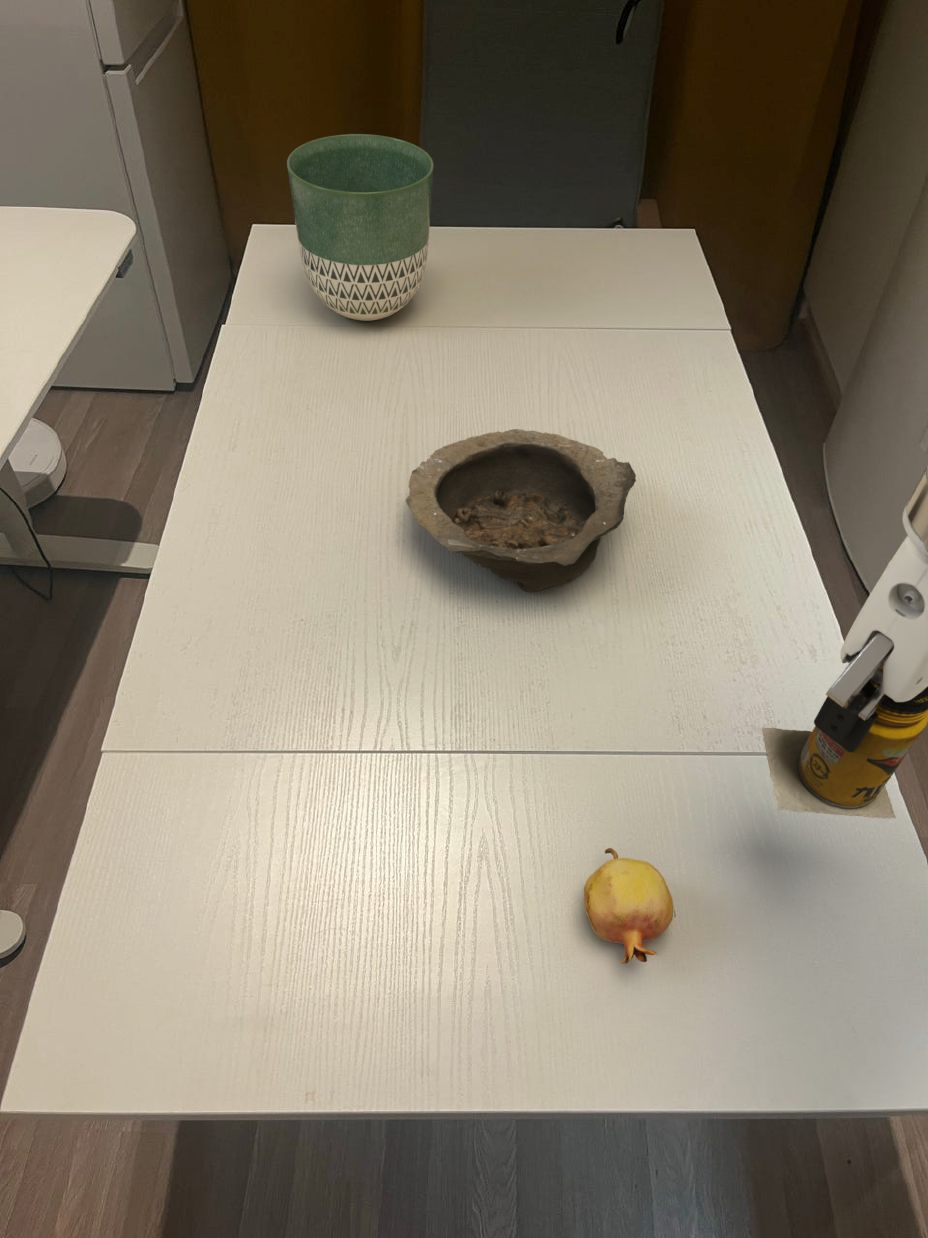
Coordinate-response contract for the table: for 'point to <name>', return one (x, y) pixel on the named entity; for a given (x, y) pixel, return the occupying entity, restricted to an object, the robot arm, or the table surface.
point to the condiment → (845, 762)
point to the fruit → (628, 904)
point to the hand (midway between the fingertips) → (864, 711)
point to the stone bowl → (521, 503)
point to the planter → (362, 220)
